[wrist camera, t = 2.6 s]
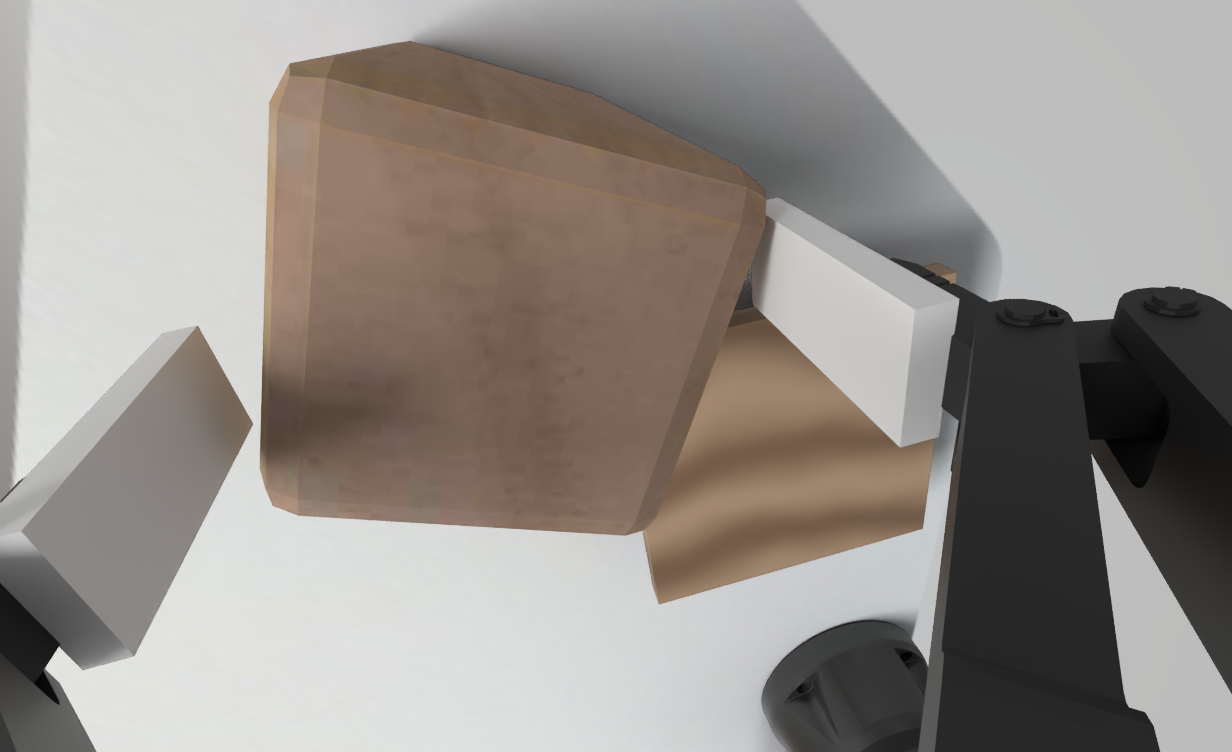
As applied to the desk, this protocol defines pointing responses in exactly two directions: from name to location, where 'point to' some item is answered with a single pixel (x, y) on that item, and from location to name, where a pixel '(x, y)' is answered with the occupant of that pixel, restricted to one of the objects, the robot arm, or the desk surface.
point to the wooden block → (486, 295)
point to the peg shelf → (778, 470)
